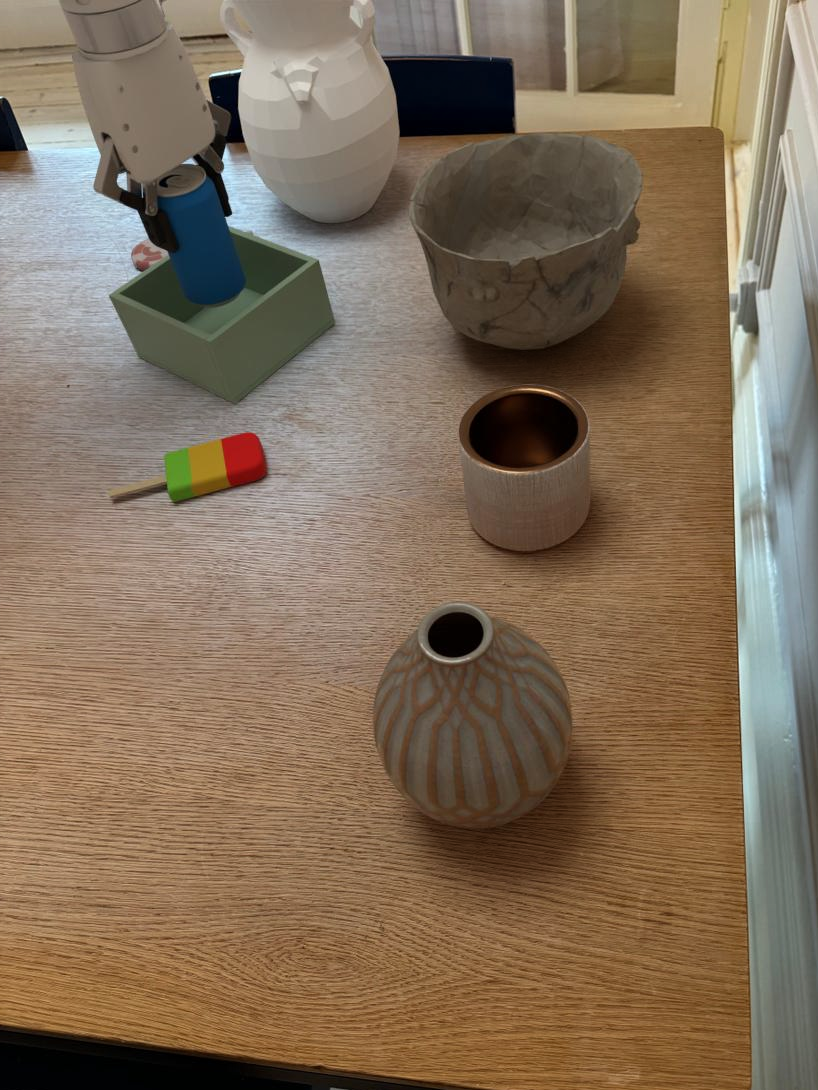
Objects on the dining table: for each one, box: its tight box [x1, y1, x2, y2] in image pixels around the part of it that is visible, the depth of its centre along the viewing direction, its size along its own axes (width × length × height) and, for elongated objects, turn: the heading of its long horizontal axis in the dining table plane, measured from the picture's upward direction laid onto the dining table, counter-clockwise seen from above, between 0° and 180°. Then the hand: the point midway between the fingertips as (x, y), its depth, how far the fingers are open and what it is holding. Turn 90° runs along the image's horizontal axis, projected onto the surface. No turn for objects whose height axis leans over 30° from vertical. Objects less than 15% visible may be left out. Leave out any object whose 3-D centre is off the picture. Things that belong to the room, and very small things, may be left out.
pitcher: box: [219, 0, 401, 224], centre depth 102 cm, size 19×18×25 cm
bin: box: [108, 225, 336, 405], centre depth 94 cm, size 16×16×8 cm
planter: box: [456, 383, 591, 552], centre depth 75 cm, size 11×11×10 cm
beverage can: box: [157, 163, 246, 308], centre depth 87 cm, size 6×6×12 cm
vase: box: [372, 601, 574, 830], centre depth 57 cm, size 13×13×18 cm
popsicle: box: [107, 431, 267, 503], centre depth 84 cm, size 6×15×2 cm, turn 106°
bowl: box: [408, 132, 644, 351], centre depth 88 cm, size 22×22×15 cm
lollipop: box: [130, 230, 254, 271], centre depth 108 cm, size 7×1×15 cm
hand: (193, 228), depth 87 cm, fingers closed on beverage can, 6 cm apart
